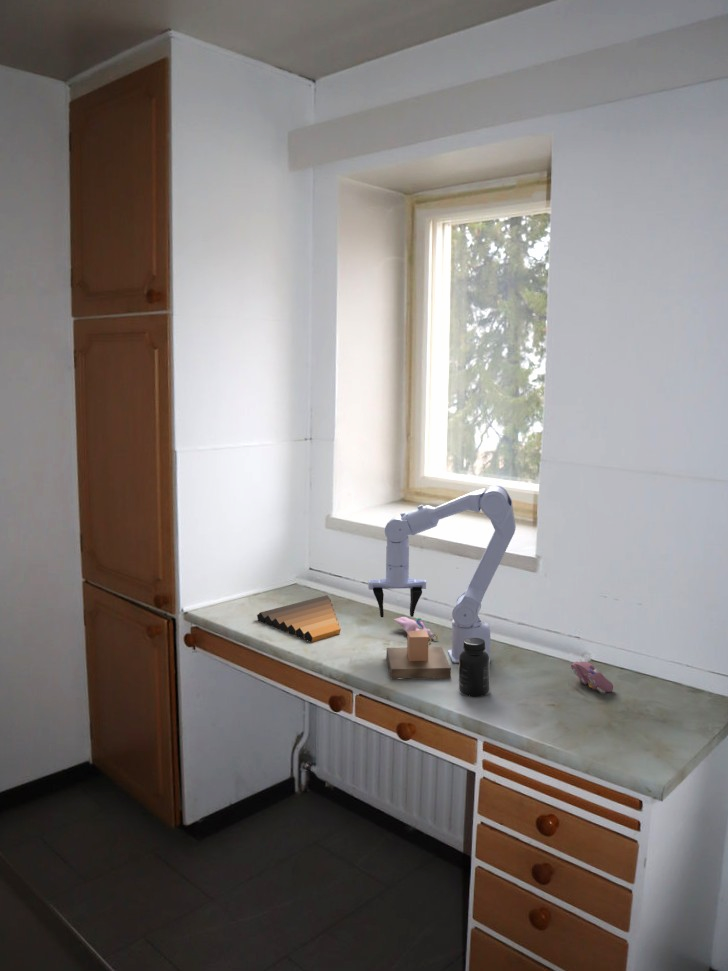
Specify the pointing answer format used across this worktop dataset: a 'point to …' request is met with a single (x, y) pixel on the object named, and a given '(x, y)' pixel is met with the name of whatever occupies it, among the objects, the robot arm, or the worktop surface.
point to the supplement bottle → (474, 668)
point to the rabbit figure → (415, 626)
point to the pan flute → (304, 619)
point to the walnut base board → (418, 664)
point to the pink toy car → (591, 676)
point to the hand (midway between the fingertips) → (396, 615)
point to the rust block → (417, 645)
